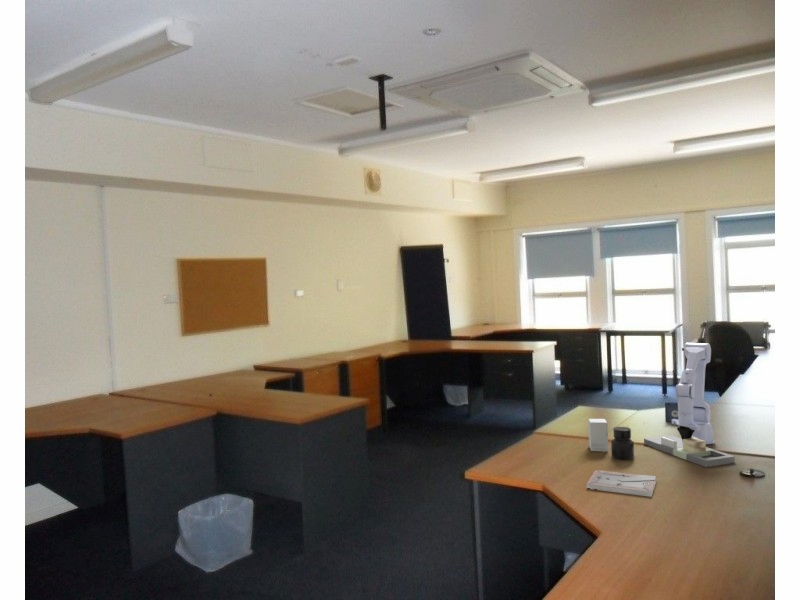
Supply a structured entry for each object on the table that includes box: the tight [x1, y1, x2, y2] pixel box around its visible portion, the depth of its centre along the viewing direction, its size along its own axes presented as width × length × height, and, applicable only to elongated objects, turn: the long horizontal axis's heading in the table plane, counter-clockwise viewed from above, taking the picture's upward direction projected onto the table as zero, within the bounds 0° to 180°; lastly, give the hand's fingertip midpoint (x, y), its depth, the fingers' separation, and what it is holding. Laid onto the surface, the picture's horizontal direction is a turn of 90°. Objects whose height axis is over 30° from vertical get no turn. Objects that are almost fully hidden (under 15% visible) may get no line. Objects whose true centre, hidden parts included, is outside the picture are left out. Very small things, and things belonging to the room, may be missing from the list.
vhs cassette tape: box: [664, 401, 705, 424], centre depth 300 cm, size 18×3×10 cm, turn 58°
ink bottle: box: [610, 426, 635, 461], centre depth 250 cm, size 10×9×12 cm
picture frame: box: [586, 469, 657, 498], centre depth 218 cm, size 16×2×22 cm
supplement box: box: [587, 418, 609, 452], centre depth 263 cm, size 7×7×13 cm
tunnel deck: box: [643, 434, 735, 468], centre depth 252 cm, size 14×36×6 cm, turn 16°
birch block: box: [683, 438, 707, 452], centre depth 248 cm, size 6×6×4 cm
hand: (686, 444), depth 252 cm, fingers closed
